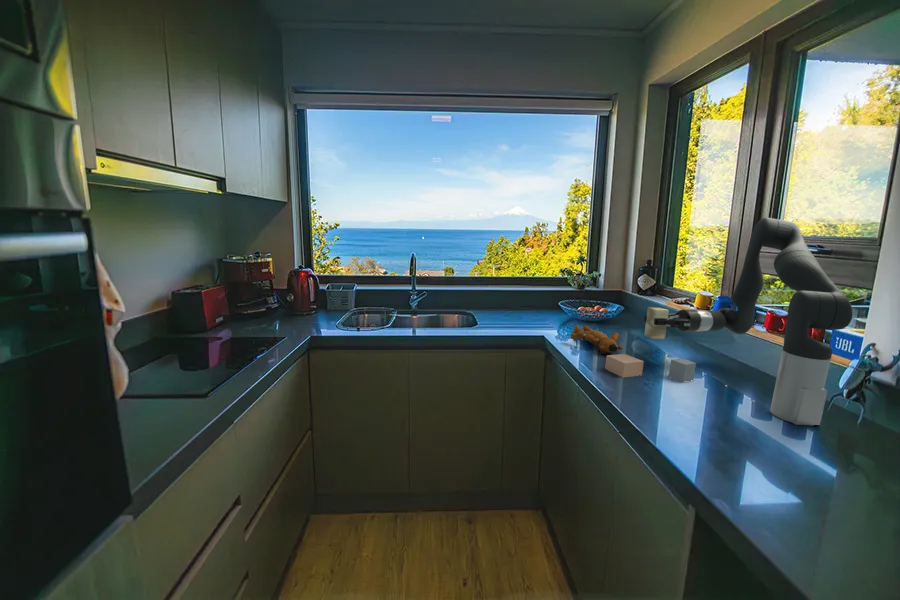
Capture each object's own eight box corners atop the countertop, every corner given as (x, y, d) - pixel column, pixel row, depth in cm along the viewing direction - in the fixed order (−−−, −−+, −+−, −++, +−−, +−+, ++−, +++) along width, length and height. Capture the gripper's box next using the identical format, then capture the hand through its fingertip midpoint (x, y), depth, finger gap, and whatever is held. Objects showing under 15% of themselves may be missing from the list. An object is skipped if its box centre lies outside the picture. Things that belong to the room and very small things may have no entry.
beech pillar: (664, 339, 134) (668, 310, 132) (652, 339, 133) (656, 309, 131) (655, 335, 138) (659, 307, 136) (644, 335, 137) (648, 307, 136)
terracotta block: (641, 375, 130) (643, 361, 129) (622, 378, 127) (624, 363, 126) (623, 367, 137) (624, 353, 136) (604, 369, 134) (606, 355, 133)
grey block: (693, 380, 127) (696, 363, 126) (682, 382, 125) (685, 364, 124) (678, 375, 131) (681, 358, 130) (668, 377, 129) (671, 359, 128)
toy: (558, 338, 175) (587, 357, 145) (559, 323, 174) (589, 339, 145) (601, 339, 177) (639, 358, 147) (603, 324, 176) (641, 340, 146)
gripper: (680, 306, 143) (637, 305, 140) (712, 314, 130) (665, 313, 127) (677, 326, 145) (634, 325, 142) (708, 336, 131) (662, 336, 128)
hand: (649, 320), depth 134 cm, fingers closed on beech pillar, 4 cm apart
